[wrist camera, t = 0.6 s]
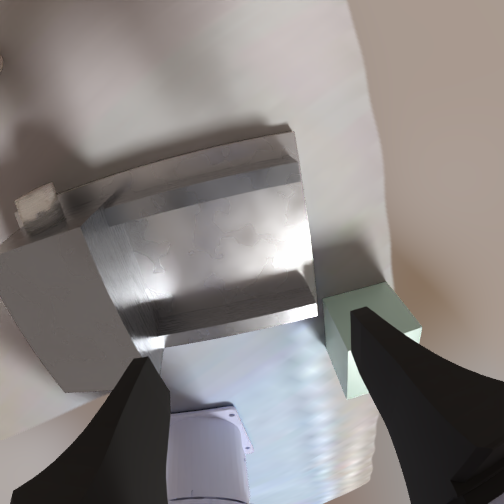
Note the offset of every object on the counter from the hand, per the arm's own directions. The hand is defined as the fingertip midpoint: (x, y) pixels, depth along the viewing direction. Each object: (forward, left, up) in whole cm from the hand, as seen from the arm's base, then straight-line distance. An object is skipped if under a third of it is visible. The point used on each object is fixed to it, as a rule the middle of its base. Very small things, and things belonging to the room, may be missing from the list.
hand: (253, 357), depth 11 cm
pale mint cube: (-8, -7, -10) cm, 15 cm away
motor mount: (0, +5, -10) cm, 11 cm away
